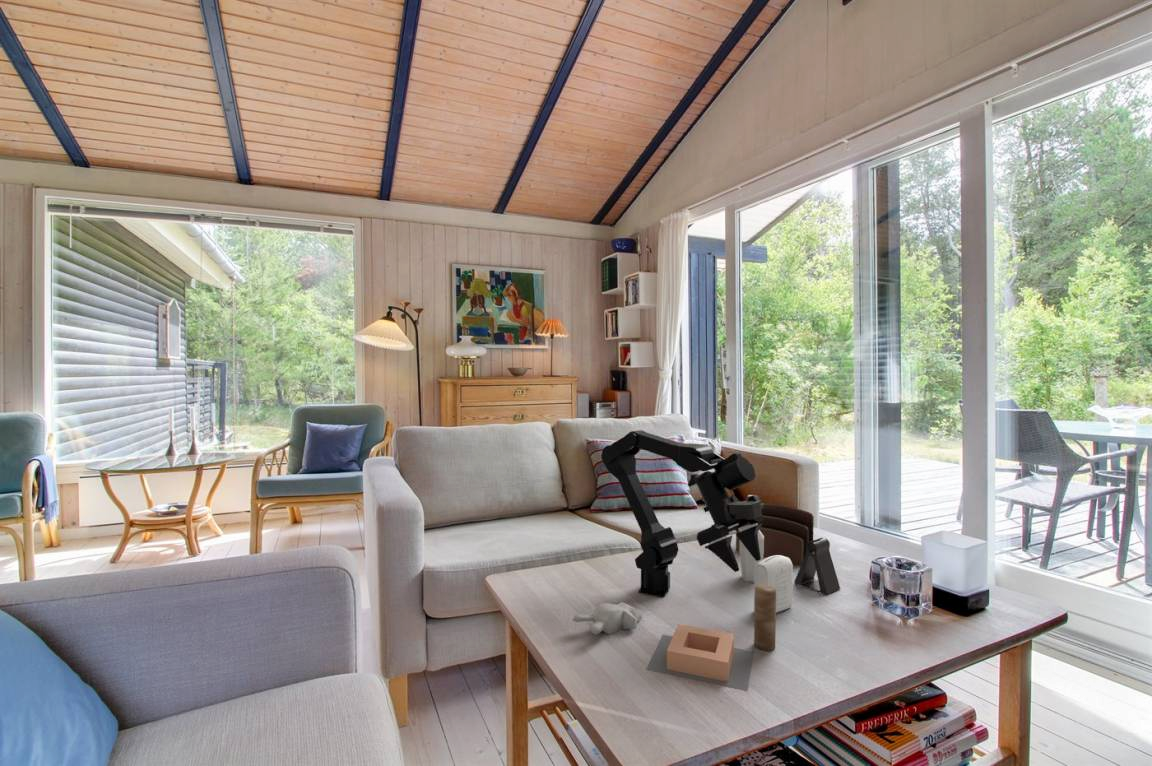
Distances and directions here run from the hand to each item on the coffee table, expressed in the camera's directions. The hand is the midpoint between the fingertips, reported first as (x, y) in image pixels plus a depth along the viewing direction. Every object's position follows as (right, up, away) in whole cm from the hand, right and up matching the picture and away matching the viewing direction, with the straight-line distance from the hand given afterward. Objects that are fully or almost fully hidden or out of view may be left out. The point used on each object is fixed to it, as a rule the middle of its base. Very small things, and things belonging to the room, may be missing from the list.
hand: (748, 565), depth 120 cm
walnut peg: (+1, -14, -9) cm, 16 cm away
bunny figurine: (-30, -14, -1) cm, 33 cm away
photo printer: (+8, -13, +9) cm, 18 cm away
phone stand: (+24, -13, +22) cm, 35 cm away
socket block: (-13, -13, -14) cm, 24 cm away
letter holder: (+22, -12, +46) cm, 52 cm away
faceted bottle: (+9, -12, +27) cm, 31 cm away
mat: (-13, -14, -14) cm, 24 cm away
